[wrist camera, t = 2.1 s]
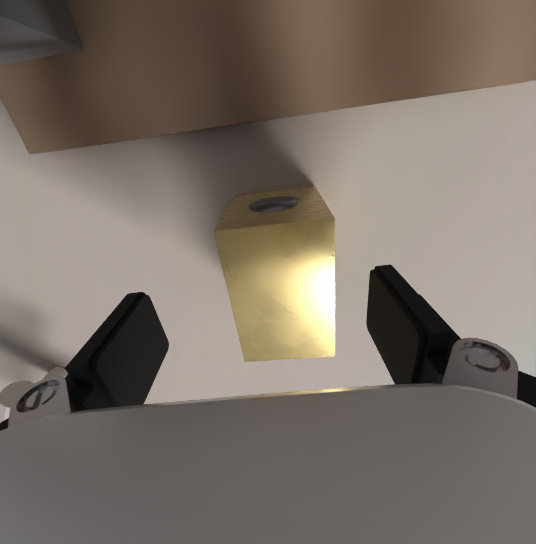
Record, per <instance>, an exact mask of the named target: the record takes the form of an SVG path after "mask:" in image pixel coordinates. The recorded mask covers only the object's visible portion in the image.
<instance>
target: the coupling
mask: <svg viewBox="0 0 536 544" xmlns="http://www.w3.org/2000/svg"><path fill="white" fill-rule="evenodd" d="M214 235H215V239H216V244H217V248H218V252H219V256H220V260H221V264H222V269H223V273H224V277H225V281H226V285H227V290H228V294H229V298H230V302H231V306H232V310H233V315H234V319H235V323H236V327H237V331H238V336H239V340H240V344H241V348H242V352H243V356H244V361H245V362H251V361H267V360H283V359H299V358H314V357H330V356H335V218H334V216H333V215H332V213H331V211H330V210H329V208H328V207H327V205H326V203H325V202H324V200H323V199H322V197H321V195H320V194H319V192H318V190H317V189H316V187H315V186H309V187H301V188H293V189H285V190H276V191H268V192H260V193H252V194H244V195H236V196H235V198H234V199H233V201H232V203H231V204H230V206H229V207H228V209H227V211H226V212H225V214H224V215H223V217H222V219H221V220H220V222H219V223H218V225H217V227H216V228H215V230H214Z"/></svg>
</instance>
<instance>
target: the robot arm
mask: <svg viewBox="0 0 536 544" xmlns="http://www.w3.org/2000/svg"><path fill="white" fill-rule="evenodd" d="M367 328H368V331H369V333H370V335H371V337H372V339H373V341H374V343H375V345H376V347H377V349H378V351H379V353H380V355H381V357H382V359H383V361H384V363H385V365H386V367H387V369H388V371H389V373H390V375H391V377H392V379H393V381H394V383H395V384H394V385H378V386H363V387H348V388H335V389H322V390H309V391H297V392H284V393H272V394H259V395H247V396H235V397H224V398H212V399H200V400H189V401H177V402H166V403H155V404H144V402H145V400H146V397H147V395H148V393H149V391H150V389H151V386H152V384H153V382H154V380H155V377H156V375H157V373H158V371H159V369H160V366H161V364H162V362H163V360H164V357H165V355H166V353H167V351H168V347H169V343H168V339H167V337H166V335H165V332H164V330H163V327H162V325H161V323H160V320H159V318H158V315H157V313H156V311H155V308H154V306H153V303H152V301H151V299H150V297H149V296H148V295H146V294H145V293H144V292H137V293H129V294H127V295H126V296H125V298H124V299H123V300H122V301H121V302H120V304H119V305H118V306H117V307H116V308H115V309H114V311H113V312H112V313H111V314H110V315H109V317H108V318H107V319H106V320H105V321H104V322H103V324H102V325H101V326H100V327H99V328H98V330H97V331H96V332H95V333H94V334H93V335H92V337H91V338H90V339H89V340H88V341H87V343H86V344H85V345H84V346H83V347H82V348H81V350H80V351H79V352H78V353H77V354H76V356H75V357H74V358H73V359H72V360H71V361H70V363H69V364H68V365H67V366H66V367H65V370H66V371H67V373H68V375H67V376H66V377H65V378H64V377H61V376H53V377H49V378H45V379H43V380H41V381H38V382H37V383H35V384H33V385H32V386H30V387H29V388H27V389H26V390H25V391H23V392H22V393H21V394H20V395H19V396H18V397H17V398H16V399H15V401H14V402H13V404H12V405H11V408H10V412H9V418H7V419H6V420H4V421H2V422H1V423H0V544H536V377H534V376H531V375H528V374H526V373H523V372H521V371H518V365H517V361H516V360H515V358H514V357H513V356H512V355H511V354H510V353H509V352H508V351H507V350H505V349H504V348H502V347H500V346H498V345H497V344H494V343H492V342H489V341H487V340H482V339H478V338H464V339H461V338H460V337H459V336H458V335H457V334H456V333H455V332H454V331H453V330H452V329H451V328H450V326H449V325H448V324H447V323H446V322H445V321H444V320H443V319H442V318H441V317H440V316H439V315H438V313H437V312H436V311H435V310H434V309H433V308H432V307H431V306H430V305H429V304H428V303H427V301H426V300H425V299H424V298H423V297H422V296H421V295H419V294H417V292H416V291H415V290H414V289H413V288H412V287H411V286H410V285H409V284H408V283H407V281H406V280H405V279H404V278H403V277H402V276H401V275H400V274H399V273H398V272H397V270H396V269H395V268H394V267H393V266H392V265H383V266H376V267H375V269H374V270H371V271H370V280H369V293H368V307H367ZM143 404H144V405H143Z"/></svg>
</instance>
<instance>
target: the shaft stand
mask: <svg viewBox="0 0 536 544" xmlns="http://www.w3.org/2000/svg"><path fill="white" fill-rule="evenodd" d="M533 80H536V0H0V98H1V100H2V102H3V104H4V105H5V107H6V109H7V111H8V113H9V115H10V117H11V119H12V121H13V123H14V125H15V127H16V129H17V131H18V132H19V134H20V136H21V138H22V140H23V142H24V144H25V146H26V148H27V150H28V152H29V154H36V153H45V152H52V151H59V150H66V149H73V148H80V147H86V146H93V145H100V144H107V143H114V142H120V141H127V140H134V139H141V138H148V137H154V136H161V135H168V134H175V133H182V132H188V131H195V130H202V129H209V128H215V127H222V126H229V125H236V124H243V123H249V122H256V121H263V120H270V119H277V118H283V117H290V116H297V115H304V114H311V113H317V112H324V111H331V110H338V109H345V108H351V107H358V106H365V105H372V104H379V103H385V102H392V101H399V100H406V99H413V98H419V97H426V96H433V95H440V94H447V93H453V92H460V91H467V90H474V89H481V88H487V87H494V86H501V85H508V84H515V83H521V82H528V81H533Z"/></svg>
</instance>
